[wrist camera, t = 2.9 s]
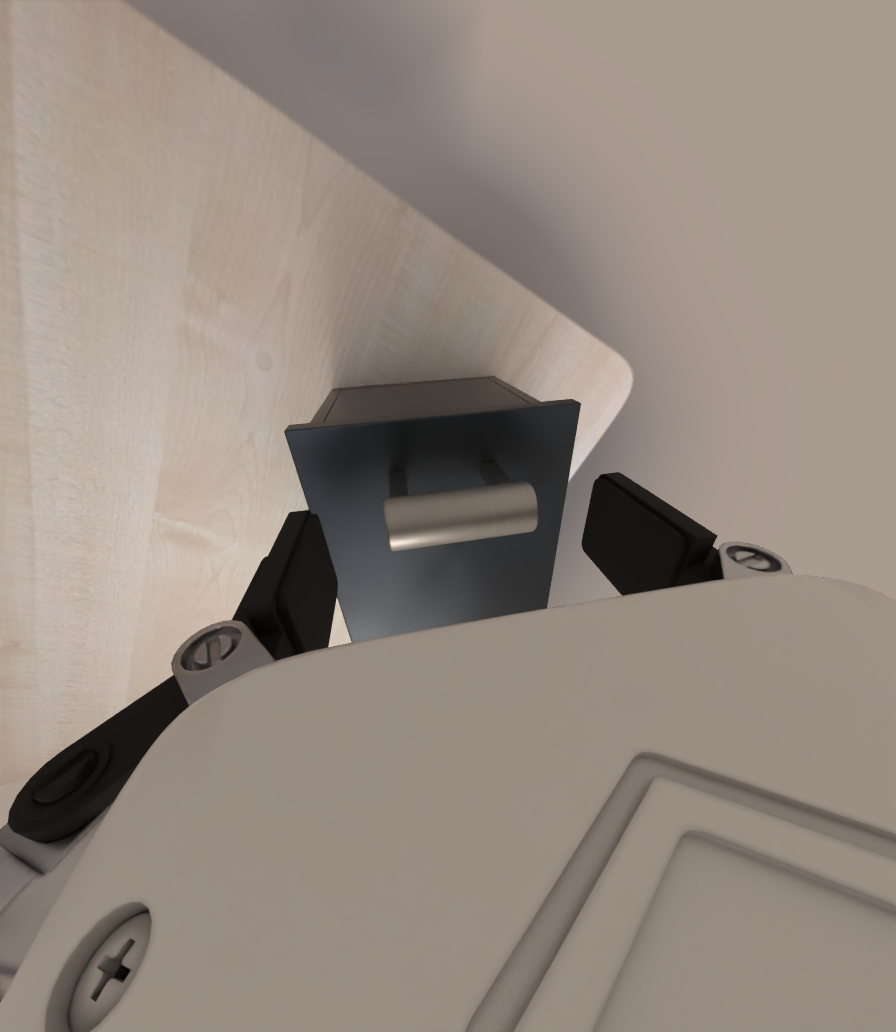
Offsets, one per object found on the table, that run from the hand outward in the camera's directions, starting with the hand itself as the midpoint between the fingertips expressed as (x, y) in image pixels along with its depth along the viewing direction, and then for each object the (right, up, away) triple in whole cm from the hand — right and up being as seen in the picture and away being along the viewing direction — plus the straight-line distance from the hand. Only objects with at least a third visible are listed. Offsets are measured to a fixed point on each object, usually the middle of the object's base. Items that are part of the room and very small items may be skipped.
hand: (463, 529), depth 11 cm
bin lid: (-1, -1, +6) cm, 6 cm away
